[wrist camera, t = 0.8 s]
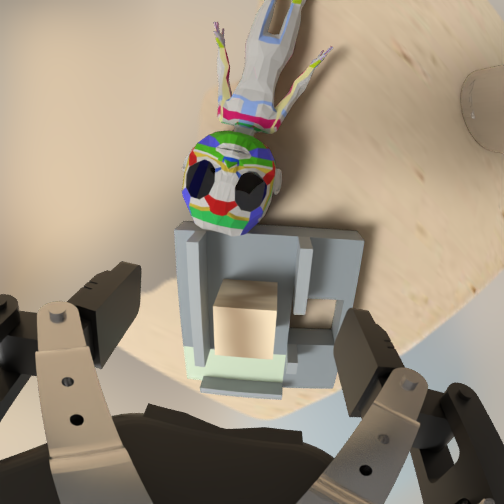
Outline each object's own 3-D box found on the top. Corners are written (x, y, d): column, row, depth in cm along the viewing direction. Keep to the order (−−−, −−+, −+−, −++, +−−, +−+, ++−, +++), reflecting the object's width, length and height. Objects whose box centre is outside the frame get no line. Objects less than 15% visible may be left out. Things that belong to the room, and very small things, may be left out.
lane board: (356, 230, 29) (373, 253, 24) (330, 371, 36) (335, 407, 30) (183, 221, 30) (162, 240, 25) (193, 362, 37) (181, 396, 31)
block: (277, 282, 29) (276, 310, 24) (273, 327, 30) (272, 359, 26) (223, 278, 29) (213, 306, 24) (223, 323, 31) (214, 354, 26)
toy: (360, -59, 15) (281, 262, 22) (342, -16, 23) (277, 240, 30) (249, -82, 15) (143, 225, 21) (253, -36, 23) (175, 213, 30)
